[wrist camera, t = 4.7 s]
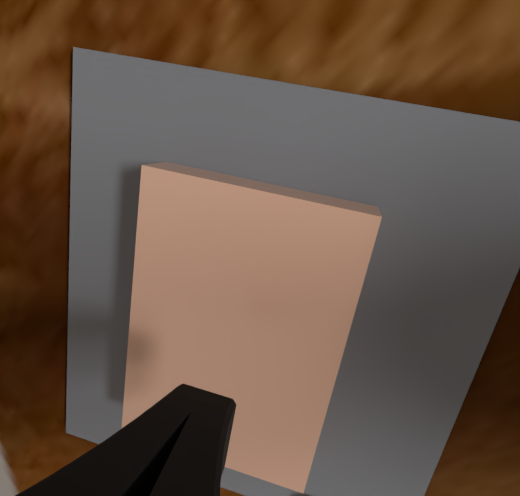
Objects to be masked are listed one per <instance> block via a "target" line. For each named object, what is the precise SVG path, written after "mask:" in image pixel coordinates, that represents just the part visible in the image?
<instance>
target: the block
mask: <svg viewBox="0 0 520 496" xmlns="http://www.w3.org/2000/svg"><path fill="white" fill-rule="evenodd" d="M381 219H382V216H381V213H380V210H379V208H378V206H373V205H368V204H364V203H359V202H354V201H349V200H345V199H340V198H335V197H331V196H326V195H321V194H316V193H312V192H307V191H302V190H298V189H293V188H288V187H284V186H279V185H274V184H269V183H265V182H260V181H255V180H251V179H246V178H241V177H236V176H232V175H227V174H222V173H218V172H213V171H208V170H203V169H199V168H194V167H189V166H185V165H180V164H175V163H170V162H159V163H152V164H145V165H142V166H141V179H140V192H139V205H138V218H137V231H136V244H135V258H134V271H133V284H132V297H131V310H130V323H129V336H128V349H127V362H126V375H125V388H124V401H123V415H122V428H123V427H125V426H126V425H127V424H129V423H130V422H132V421H133V420H134V419H136V418H137V417H138V416H140V415H141V414H142V413H144V412H145V411H146V410H148V409H149V408H150V407H152V406H153V405H154V404H156V403H157V402H158V401H160V400H161V399H162V398H163V397H165V396H166V395H167V394H168V393H170V392H171V391H172V390H174V389H175V388H176V387H177V386H179V385H181V384H187V385H190V386H193V387H196V388H200V389H203V390H206V391H209V392H212V393H216V394H219V395H222V396H225V397H229V398H232V399H233V400H234V401H235V403H236V410H235V415H234V420H233V426H232V431H231V436H230V441H229V447H228V452H227V457H226V462H225V467H227V468H230V469H233V470H235V471H238V472H241V473H244V474H247V475H250V476H253V477H256V478H259V479H262V480H265V481H268V482H271V483H274V484H277V485H279V486H282V487H285V488H288V489H291V490H294V491H297V492H300V493H304V490H305V486H306V483H307V479H308V476H309V472H310V469H311V465H312V462H313V458H314V454H315V451H316V447H317V444H318V440H319V437H320V433H321V430H322V426H323V423H324V419H325V416H326V412H327V409H328V405H329V402H330V398H331V395H332V391H333V388H334V384H335V381H336V377H337V374H338V370H339V367H340V363H341V359H342V356H343V352H344V349H345V345H346V342H347V338H348V335H349V331H350V328H351V324H352V321H353V317H354V314H355V310H356V307H357V303H358V300H359V296H360V293H361V289H362V286H363V282H364V279H365V275H366V272H367V268H368V264H369V261H370V257H371V254H372V250H373V247H374V243H375V240H376V236H377V233H378V229H379V226H380V222H381ZM122 428H121V429H122Z"/></svg>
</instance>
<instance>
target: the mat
mask: <svg viewBox="0 0 520 496" xmlns="http://www.w3.org/2000/svg"><path fill="white" fill-rule="evenodd" d="M159 162H170V163H175V164H180V165H185V166H189V167H194V168H199V169H203V170H208V171H213V172H218V173H222V174H227V175H232V176H236V177H241V178H246V179H251V180H255V181H260V182H265V183H269V184H274V185H279V186H284V187H288V188H293V189H298V190H302V191H307V192H312V193H316V194H321V195H326V196H331V197H335V198H340V199H345V200H349V201H354V202H359V203H364V204H368V205H373V206H378V208H379V210H380V213H381V216H382V219H381V222H380V226H379V229H378V233H377V236H376V240H375V243H374V247H373V250H372V254H371V257H370V261H369V264H368V268H367V272H366V275H365V279H364V282H363V286H362V289H361V293H360V296H359V300H358V303H357V307H356V310H355V314H354V317H353V321H352V324H351V328H350V331H349V335H348V338H347V342H346V345H345V349H344V352H343V356H342V359H341V363H340V367H339V370H338V374H337V377H336V381H335V384H334V388H333V391H332V395H331V398H330V402H329V405H328V409H327V412H326V416H325V419H324V423H323V426H322V430H321V433H320V437H319V440H318V444H317V447H316V451H315V454H314V458H313V462H312V465H311V469H310V472H309V476H308V479H307V483H306V486H305V490H304V493H300V492H297V491H294V490H291V489H288V488H285V487H282V486H279V485H277V484H274V483H271V482H268V481H265V480H262V479H259V478H256V477H253V476H250V475H247V474H244V473H241V472H238V471H235V470H233V469H230V468H227V467H224V470H223V473H222V476H221V483H220V487H222V488H225V489H228V490H231V491H234V492H237V493H239V494H242V495H245V496H424V495H425V492H426V490H427V487H428V485H429V483H430V480H431V478H432V476H433V473H434V471H435V468H436V466H437V464H438V461H439V459H440V456H441V454H442V452H443V449H444V447H445V445H446V442H447V440H448V437H449V435H450V433H451V430H452V428H453V425H454V423H455V421H456V418H457V416H458V414H459V411H460V409H461V406H462V404H463V402H464V399H465V397H466V394H467V392H468V390H469V387H470V385H471V383H472V380H473V378H474V375H475V373H476V371H477V368H478V366H479V363H480V361H481V359H482V356H483V354H484V352H485V349H486V347H487V344H488V342H489V340H490V337H491V335H492V332H493V330H494V328H495V325H496V323H497V320H498V318H499V316H500V313H501V311H502V309H503V306H504V304H505V301H506V299H507V297H508V294H509V292H510V289H511V287H512V285H513V282H514V280H515V278H516V275H517V273H518V270H519V268H520V122H518V121H512V120H506V119H500V118H494V117H488V116H482V115H476V114H470V113H464V112H458V111H452V110H446V109H440V108H434V107H428V106H422V105H416V104H410V103H404V102H398V101H392V100H386V99H380V98H374V97H368V96H363V95H357V94H351V93H345V92H339V91H333V90H327V89H321V88H315V87H309V86H303V85H297V84H291V83H285V82H279V81H273V80H267V79H261V78H255V77H249V76H243V75H237V74H231V73H225V72H219V71H213V70H207V69H201V68H195V67H190V66H184V65H178V64H172V63H166V62H160V61H154V60H148V59H142V58H136V57H130V56H124V55H118V54H112V53H106V52H100V51H94V50H88V49H82V48H76V47H73V77H72V130H71V183H70V236H69V289H68V342H67V395H66V433H68V434H71V435H74V436H77V437H80V438H83V439H85V440H88V441H91V442H94V443H97V444H100V443H102V442H103V441H105V440H106V439H108V438H109V437H110V436H112V435H113V434H115V433H116V432H117V431H119V430H120V429H121V428H122V415H123V401H124V388H125V375H126V362H127V349H128V336H129V323H130V310H131V297H132V284H133V271H134V258H135V244H136V231H137V218H138V205H139V192H140V179H141V166H142V165H145V164H152V163H159Z"/></svg>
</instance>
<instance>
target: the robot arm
mask: <svg viewBox="0 0 520 496" xmlns="http://www.w3.org/2000/svg"><path fill="white" fill-rule="evenodd" d="M235 410H236V403H235V401H234V400H233V399H232V398H229V397H225V396H222V395H219V394H216V393H212V392H209V391H206V390H203V389H200V388H196V387H193V386H190V385H187V384H181V385H179V386H177V387H176V388H175V389H174V390H172V391H171V392H170V393H168V394H167V395H166V396H165V397H163V398H162V399H161V400H160V401H158V402H157V403H156V404H154V405H153V406H152V407H150V408H149V409H148V410H146V411H145V412H144V413H142V414H141V415H140V416H138V417H137V418H136V419H134V420H133V421H132V422H130V423H129V424H127V425H126V426H125V427H123V428H122V429H120V430H119V431H117V432H116V433H115V434H113V435H112V436H110V437H109V438H108V439H106V440H105V441H103V442H102V443H100V444H99V445H97V446H96V447H94V448H93V449H91V450H90V451H88V452H87V453H85V454H83V455H82V456H80V457H79V458H77V459H76V460H74V461H72V462H71V463H69V464H68V465H66V466H65V467H63V468H62V469H60V470H58V471H57V472H55V473H54V474H52V475H50V476H49V477H47V478H45V479H43V480H42V481H40V482H38V483H37V484H35V485H33V486H32V487H30V488H28V489H26V490H25V491H23V492H21V493H19V494H17V495H16V496H220V483H221V476H222V473H223V470H224V467H225V462H226V457H227V452H228V447H229V441H230V436H231V431H232V426H233V420H234V415H235Z"/></svg>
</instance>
